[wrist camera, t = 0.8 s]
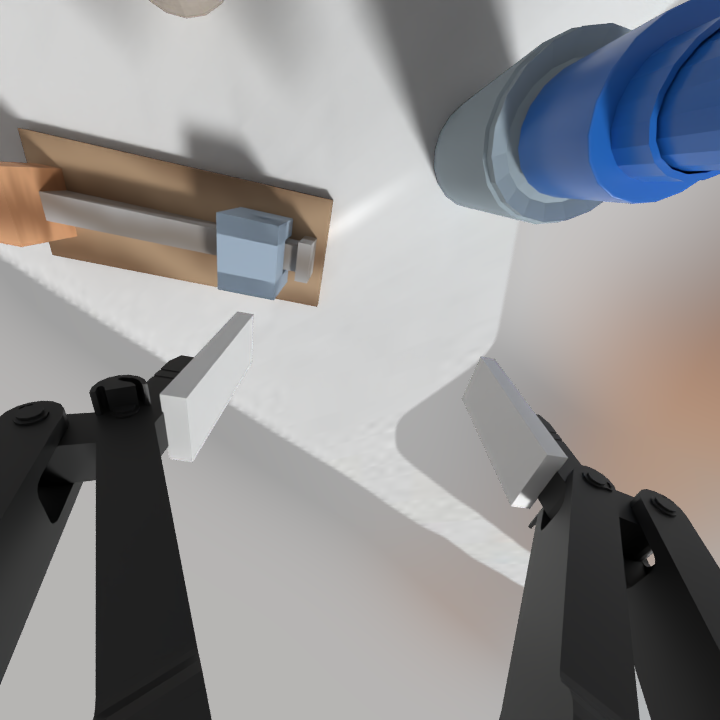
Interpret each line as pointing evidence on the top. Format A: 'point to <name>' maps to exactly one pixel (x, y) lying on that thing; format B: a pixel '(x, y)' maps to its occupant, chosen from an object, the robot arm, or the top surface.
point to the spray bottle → (591, 121)
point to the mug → (187, 7)
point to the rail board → (175, 199)
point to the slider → (251, 251)
